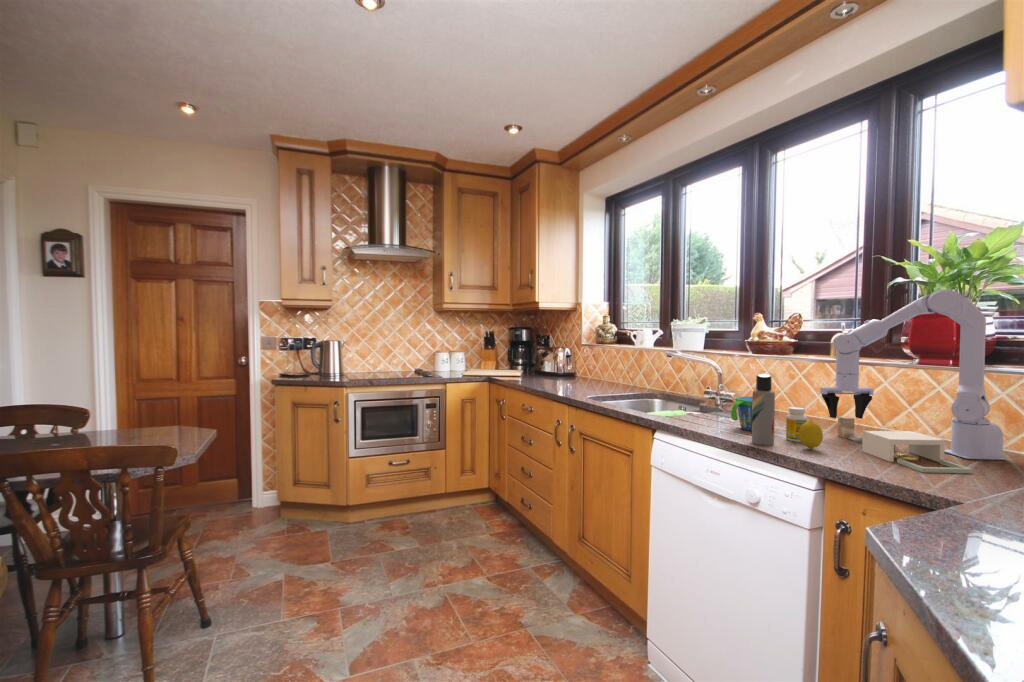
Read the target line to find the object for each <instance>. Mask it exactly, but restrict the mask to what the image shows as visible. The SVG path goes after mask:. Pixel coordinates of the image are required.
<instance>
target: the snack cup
mask: <svg viewBox="0 0 1024 682" xmlns="http://www.w3.org/2000/svg"><path fill="white" fill-rule="evenodd" d="M752 398H753V396H737V397H736V398H735V402H734V404H732V407H731V412H730V416H731V419H732V420H733V421H738V419H739V426H740V427H741V429H743V430H745V431H746V430H747V431H751V432H752ZM737 412H738V413H737Z"/></svg>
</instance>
